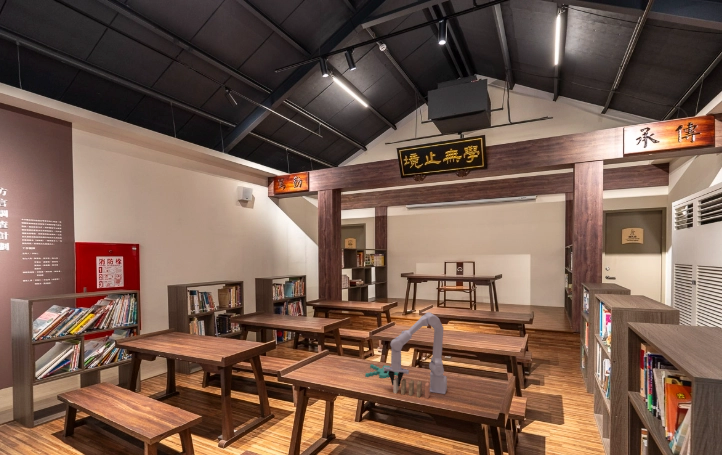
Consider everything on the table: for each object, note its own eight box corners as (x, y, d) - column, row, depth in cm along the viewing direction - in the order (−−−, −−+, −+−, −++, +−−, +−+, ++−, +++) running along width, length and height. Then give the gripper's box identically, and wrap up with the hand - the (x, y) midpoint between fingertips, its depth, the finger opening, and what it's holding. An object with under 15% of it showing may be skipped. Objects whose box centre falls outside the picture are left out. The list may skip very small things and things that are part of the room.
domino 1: (406, 391, 205) (406, 379, 205) (403, 394, 200) (403, 382, 201) (403, 391, 205) (403, 378, 206) (401, 394, 201) (401, 381, 201)
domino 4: (429, 395, 200) (429, 382, 200) (427, 398, 195) (427, 385, 196) (426, 394, 200) (426, 382, 201) (424, 398, 196) (424, 385, 196)
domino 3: (421, 394, 201) (421, 381, 202) (419, 397, 197) (419, 384, 197) (418, 393, 202) (418, 380, 202) (416, 396, 197) (416, 383, 198)
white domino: (398, 390, 207) (398, 377, 207) (396, 393, 202) (396, 380, 202) (395, 389, 207) (395, 377, 208) (393, 393, 203) (393, 380, 203)
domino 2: (413, 392, 203) (413, 380, 204) (411, 396, 198) (411, 383, 199) (411, 392, 204) (411, 379, 204) (408, 395, 199) (408, 382, 200)
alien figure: (365, 377, 228) (396, 380, 224) (365, 374, 228) (396, 376, 224) (370, 367, 248) (399, 369, 244) (370, 364, 248) (399, 366, 244)
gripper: (410, 360, 207) (410, 384, 206) (386, 357, 212) (386, 380, 211) (407, 364, 200) (407, 388, 199) (382, 360, 206) (382, 385, 205)
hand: (396, 385), depth 205 cm, fingers open, 3 cm apart
